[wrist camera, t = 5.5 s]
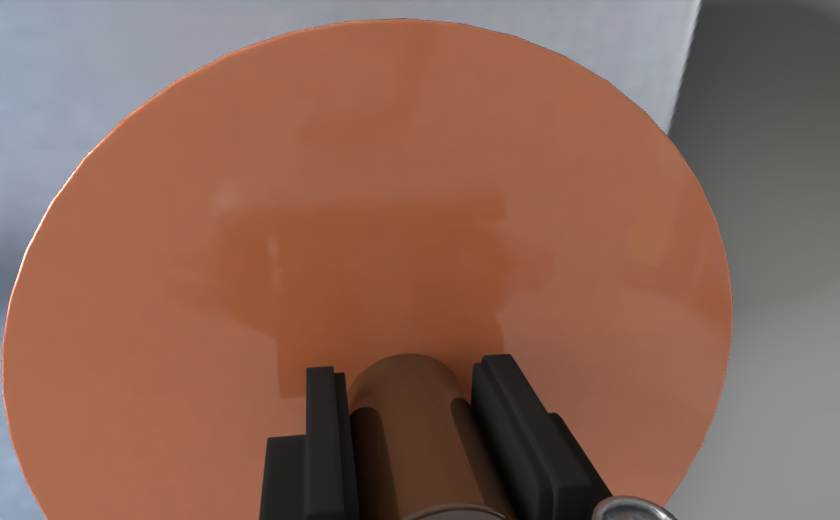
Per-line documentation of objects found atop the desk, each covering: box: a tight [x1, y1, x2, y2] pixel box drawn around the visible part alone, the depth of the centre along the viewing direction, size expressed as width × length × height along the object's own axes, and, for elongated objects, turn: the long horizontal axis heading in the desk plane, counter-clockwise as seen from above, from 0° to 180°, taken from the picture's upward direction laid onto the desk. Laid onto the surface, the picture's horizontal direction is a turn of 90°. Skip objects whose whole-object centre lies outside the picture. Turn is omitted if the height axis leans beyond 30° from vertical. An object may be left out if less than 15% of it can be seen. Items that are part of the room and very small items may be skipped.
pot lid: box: [2, 18, 733, 520], centre depth 11 cm, size 15×15×6 cm
